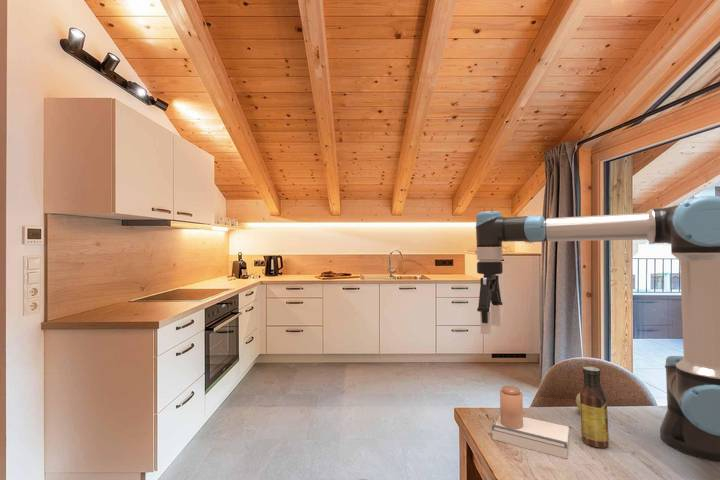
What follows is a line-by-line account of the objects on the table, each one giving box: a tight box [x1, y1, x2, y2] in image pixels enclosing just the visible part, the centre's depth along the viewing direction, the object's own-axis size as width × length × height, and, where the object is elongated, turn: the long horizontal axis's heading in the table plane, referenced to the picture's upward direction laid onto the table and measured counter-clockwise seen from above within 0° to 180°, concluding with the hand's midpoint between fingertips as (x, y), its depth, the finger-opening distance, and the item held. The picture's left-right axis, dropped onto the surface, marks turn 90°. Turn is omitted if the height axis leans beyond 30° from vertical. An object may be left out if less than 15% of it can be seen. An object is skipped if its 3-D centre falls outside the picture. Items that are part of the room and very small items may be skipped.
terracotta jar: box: [499, 385, 524, 429], centre depth 102 cm, size 6×6×10 cm
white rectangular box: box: [491, 415, 570, 459], centre depth 100 cm, size 18×13×4 cm
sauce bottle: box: [579, 366, 610, 449], centre depth 97 cm, size 6×6×20 cm
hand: (491, 329), depth 110 cm, fingers open, 13 cm apart
